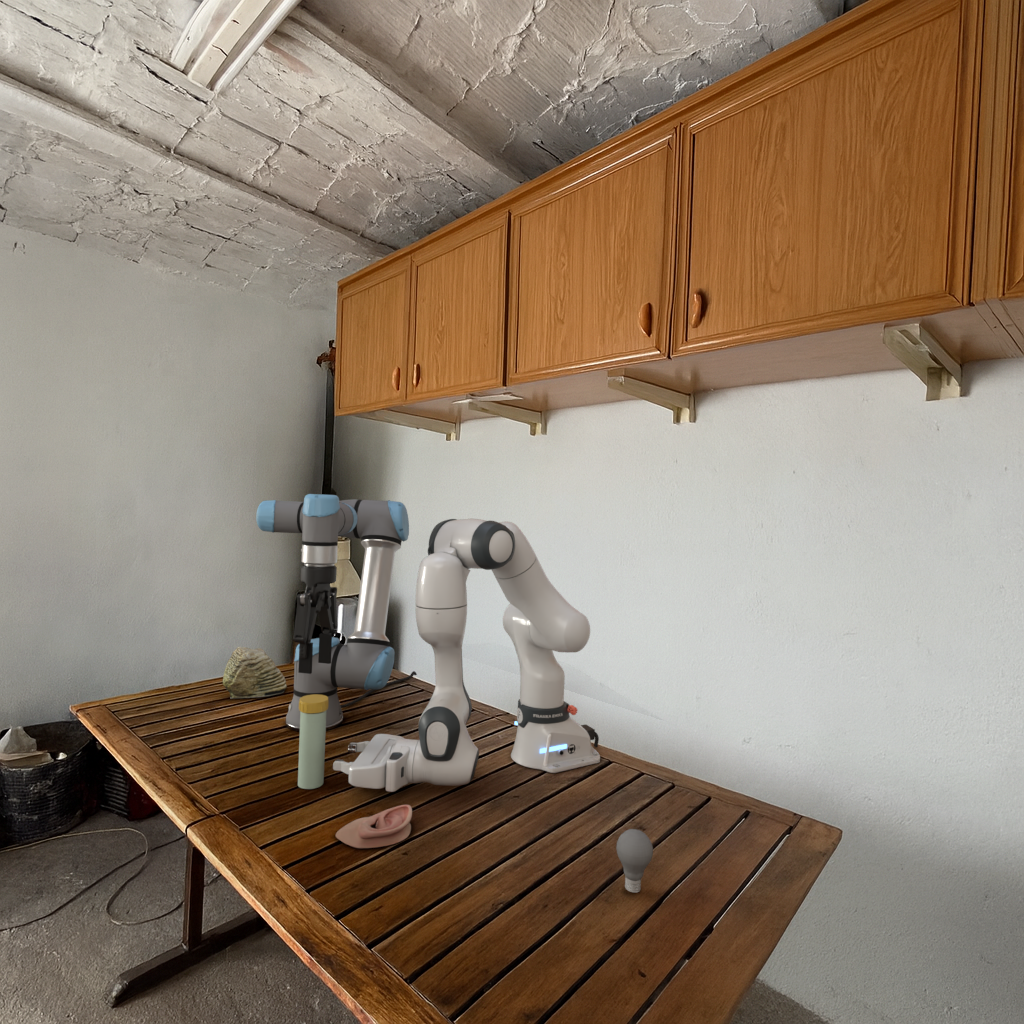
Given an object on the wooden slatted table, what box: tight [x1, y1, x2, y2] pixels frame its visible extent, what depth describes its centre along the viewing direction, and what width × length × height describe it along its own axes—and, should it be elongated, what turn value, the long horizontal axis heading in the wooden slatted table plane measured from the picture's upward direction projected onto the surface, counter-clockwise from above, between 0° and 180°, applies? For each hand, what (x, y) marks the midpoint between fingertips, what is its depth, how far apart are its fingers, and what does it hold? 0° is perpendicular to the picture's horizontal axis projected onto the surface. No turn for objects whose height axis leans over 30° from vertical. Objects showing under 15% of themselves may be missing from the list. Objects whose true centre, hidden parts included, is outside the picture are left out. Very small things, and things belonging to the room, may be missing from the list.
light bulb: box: [615, 828, 654, 894], centre depth 106 cm, size 6×6×10 cm
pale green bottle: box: [297, 711, 327, 790], centre depth 139 cm, size 6×6×18 cm
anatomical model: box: [335, 804, 413, 849], centre depth 120 cm, size 13×4×12 cm
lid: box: [299, 694, 329, 713], centre depth 139 cm, size 6×6×2 cm
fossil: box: [222, 646, 288, 699], centre depth 198 cm, size 9×18×15 cm, turn 132°
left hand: (315, 667), depth 139 cm, fingers open, 8 cm apart
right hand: (341, 755), depth 139 cm, fingers open, 8 cm apart
